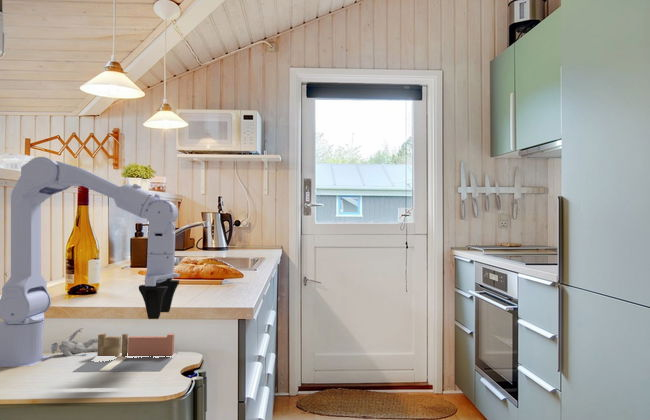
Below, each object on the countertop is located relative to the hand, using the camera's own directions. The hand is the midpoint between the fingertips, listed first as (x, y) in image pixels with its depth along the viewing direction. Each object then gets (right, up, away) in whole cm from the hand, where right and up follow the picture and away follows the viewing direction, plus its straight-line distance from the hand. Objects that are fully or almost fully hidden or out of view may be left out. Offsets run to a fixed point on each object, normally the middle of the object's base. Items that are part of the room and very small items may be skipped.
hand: (159, 315), depth 98 cm
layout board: (-5, -10, -3) cm, 12 cm away
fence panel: (-2, -9, +2) cm, 10 cm away
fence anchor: (-11, -9, +1) cm, 15 cm away
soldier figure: (-19, -10, +4) cm, 22 cm away
